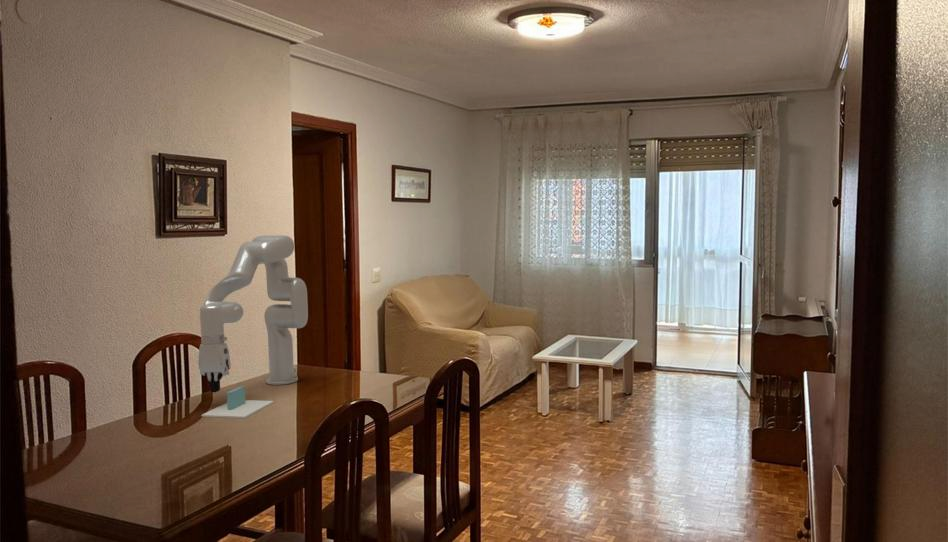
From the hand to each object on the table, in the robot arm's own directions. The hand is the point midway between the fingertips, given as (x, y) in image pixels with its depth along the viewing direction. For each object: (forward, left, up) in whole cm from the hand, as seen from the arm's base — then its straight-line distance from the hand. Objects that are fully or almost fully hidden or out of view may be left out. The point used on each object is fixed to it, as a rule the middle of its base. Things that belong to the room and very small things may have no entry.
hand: (215, 391), depth 249 cm
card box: (0, +8, -5) cm, 10 cm away
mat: (+2, +10, -6) cm, 12 cm away
